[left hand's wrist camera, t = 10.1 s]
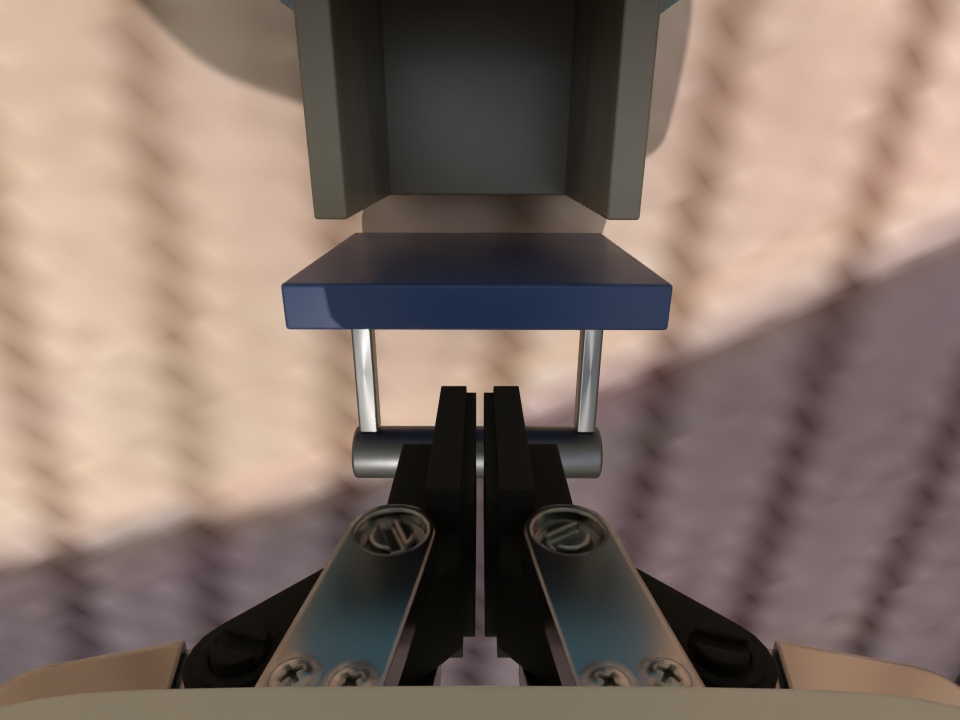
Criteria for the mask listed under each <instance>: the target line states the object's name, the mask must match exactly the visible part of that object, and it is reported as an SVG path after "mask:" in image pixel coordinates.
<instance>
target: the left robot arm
mask: <svg viewBox="0 0 960 720" xmlns="http://www.w3.org/2000/svg"><path fill="white" fill-rule="evenodd" d="M475 594H476V393H467V390H466V386H442V387H441V392H440V399H439V405H438V411H437V417H436V424H435V430H434V436H433V442H432V444H403V446H402V450H401V454H400V457H399V461H398V465H397V469H396V473H395V477H394V481H393V484H392V488H391V492H390V496H389V500H388V504H387V505H383V506H378V507H375V508H373V509H370V510H368V511H365V512H364V513H362V514H361V515H359V516H358V517H356V518H355V519H354V520H353V522H352V523H351V524H350V525H349V527H348V528H347V530H346V532H345V533H344V535H343V537H342V538H341V540H340V542H339V544H338V545H337V547H336V549H335V550H334V552H333V554H332V556H331V557H330V559H329V561H328V562H327V564H326V566H325V568H323V569H321V570H319V571H318V572H316V573H314V574H312V575H310V576H309V577H307V578H305V579H303V580H301V581H300V582H298V583H296V584H294V585H292V586H291V587H289V588H287V589H285V590H283V591H282V592H280V593H278V594H276V595H274V596H273V597H271V598H269V599H267V600H265V601H264V602H262V603H260V604H258V605H256V606H255V607H253V608H251V609H249V610H247V611H246V612H244V613H242V614H240V615H238V616H237V617H235V618H233V619H231V620H229V621H227V622H226V623H224V624H222V625H220V626H219V627H217V628H216V629H214V630H213V631H211V632H210V633H209V634H207V635H206V636H204V637H203V638H202V639H201V641H200V642H199V643H198V644H197V645H196V646H195V647H194V648H192V649H187V648H186V644H185V641H180V642H175V643H169V644H164V645H158V646H152V647H147V648H141V649H136V650H130V651H125V652H119V653H114V654H108V655H103V656H97V657H92V658H86V659H81V660H75V661H70V662H64V663H59V664H53V665H48V666H44V667H41V668H37V669H34V670H31V671H27V672H25V673H23V674H21V675H19V676H17V677H15V678H13V679H11V680H9V681H7V682H6V683H4V684H2V685H1V686H0V720H960V686H959V685H958V684H956V683H954V682H953V681H951V680H949V679H947V678H945V677H943V676H941V675H939V674H937V673H935V672H933V671H929V670H926V669H923V668H919V667H916V666H912V665H907V664H901V663H896V662H890V661H885V660H879V659H874V658H868V657H863V656H857V655H852V654H846V653H841V652H835V651H830V650H824V649H819V648H813V647H808V646H802V645H796V644H791V643H785V642H780V641H775V644H774V648H773V649H768V648H766V647H765V646H764V645H763V644H762V643H761V642H760V641H759V639H758V638H757V637H756V636H754V635H753V634H751V633H750V632H749V631H747V630H746V629H744V628H743V627H741V626H740V625H738V624H736V623H734V622H733V621H731V620H729V619H727V618H725V617H723V616H722V615H720V614H718V613H716V612H714V611H713V610H711V609H709V608H707V607H705V606H704V605H702V604H700V603H698V602H696V601H695V600H693V599H691V598H689V597H687V596H686V595H684V594H682V593H680V592H678V591H677V590H675V589H673V588H671V587H669V586H668V585H666V584H664V583H662V582H660V581H659V580H657V579H655V578H653V577H651V576H650V575H648V574H646V573H644V572H642V571H641V570H639V569H637V568H635V566H634V564H633V562H632V561H631V559H630V557H629V556H628V554H627V552H626V550H625V549H624V547H623V545H622V544H621V542H620V540H619V538H618V537H617V535H616V533H615V532H614V530H613V528H612V527H611V525H610V524H609V523H608V522H607V520H606V519H605V518H604V517H602V516H601V515H599V514H598V513H596V512H595V511H592V510H590V509H587V508H585V507H582V506H577V505H573V504H572V500H571V496H570V492H569V488H568V484H567V481H566V477H565V473H564V469H563V465H562V461H561V457H560V454H559V450H558V446H557V444H528V442H527V436H526V430H525V424H524V417H523V411H522V405H521V399H520V392H519V387H518V386H494V390H493V393H484V594H485V637H497V658H512V659H513V660H514V661H515V662H517V663H518V664H519V684H520V686H440V684H441V664H442V663H443V662H445V661H446V660H447V659H448V658H463V637H475Z"/></svg>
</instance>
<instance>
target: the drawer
mask: <svg viewBox="0 0 960 720" xmlns="http://www.w3.org/2000/svg"><path fill="white" fill-rule="evenodd" d="M293 5H294V15H295V25H296V35H297V45H298V55H299V65H300V75H301V85H302V96H303V106H304V116H305V126H306V136H307V146H308V156H309V166H310V176H311V186H312V196H313V206H314V216H315V218H316V219H347V218H349V217H350V216H352V215H354V214H356V213H358V212H360V211H361V210H363V209H365V208H367V207H369V206H371V205H372V204H374V203H376V202H378V201H380V200H382V199H383V198H385V197H387V196H389V195H566V196H568V197H570V198H572V199H573V200H575V201H577V202H579V203H580V204H582V205H584V206H585V207H587V208H589V209H591V210H592V211H594V212H596V213H598V214H599V215H601V216H603V217H605V218H606V219H608V220H637V219H639V217H640V207H641V197H642V187H643V177H644V167H645V157H646V147H647V137H648V127H649V117H650V107H651V97H652V87H653V77H654V67H655V57H656V47H657V37H658V27H659V17H660V7H661V0H293ZM281 288H282V296H283V304H284V312H285V320H286V327H287V328H288V329H351V332H352V344H353V357H354V369H355V381H356V393H357V405H358V417H359V427H357V428H356V431H355V433H354V437H353V443H352V467H353V472H354V475H355V476H356V477H357V478H394V477H395V473H396V469H397V465H398V461H399V457H400V454H401V450H402V446H403V444H432V442H433V436H434V430H435V426H380V425H381V419H380V404H379V389H378V374H377V359H376V344H375V329H420V330H580V341H579V356H578V370H577V385H576V400H575V414H574V426H525V430H526V436H527V442H528V444H557V446H558V450H559V454H560V457H561V461H562V465H563V469H564V473H565V477H566V478H598V477H599V476H600V473H601V469H602V459H603V453H602V441H601V436H600V432H599V430H598V428H597V427H595V423H596V411H597V399H598V387H599V375H600V363H601V351H602V339H603V330H665V329H667V327H668V319H669V311H670V303H671V296H672V285H671V284H670V283H668V282H667V281H666V280H664V279H663V278H661V277H660V276H659V275H657V274H656V273H654V272H653V271H652V270H650V269H649V268H648V267H646V266H645V265H643V264H642V263H641V262H639V261H638V260H637V259H635V258H634V257H632V256H631V255H630V254H628V253H627V252H626V251H624V250H623V249H621V248H620V247H619V246H617V245H616V244H615V243H613V242H612V241H610V240H609V239H608V238H606V237H605V236H604V235H602V234H600V233H355V234H353V235H352V236H350V237H349V238H347V239H346V240H345V241H343V242H342V243H340V244H339V245H337V246H336V247H335V248H333V249H332V250H330V251H329V252H327V253H326V254H325V255H323V256H322V257H320V258H319V259H317V260H316V261H314V262H313V263H312V264H310V265H309V266H307V267H306V268H304V269H303V270H302V271H300V272H299V273H297V274H296V275H294V276H293V277H292V278H290V279H289V280H287V281H286V282H284V283H283V284H282V286H281ZM476 478H484V426H476Z"/></svg>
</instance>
